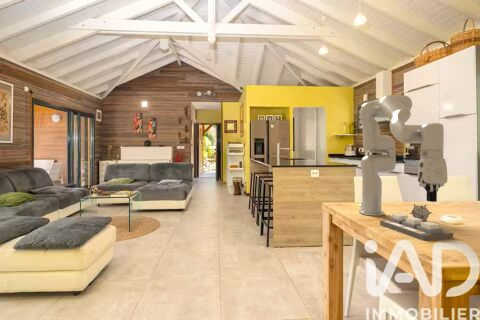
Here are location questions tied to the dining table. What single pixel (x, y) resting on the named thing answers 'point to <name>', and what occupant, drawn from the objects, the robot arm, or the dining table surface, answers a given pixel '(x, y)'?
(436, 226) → the button
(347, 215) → the dining table surface
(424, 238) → the button board
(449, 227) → the dining table surface
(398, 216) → the button
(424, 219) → the game die
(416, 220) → the middle button
